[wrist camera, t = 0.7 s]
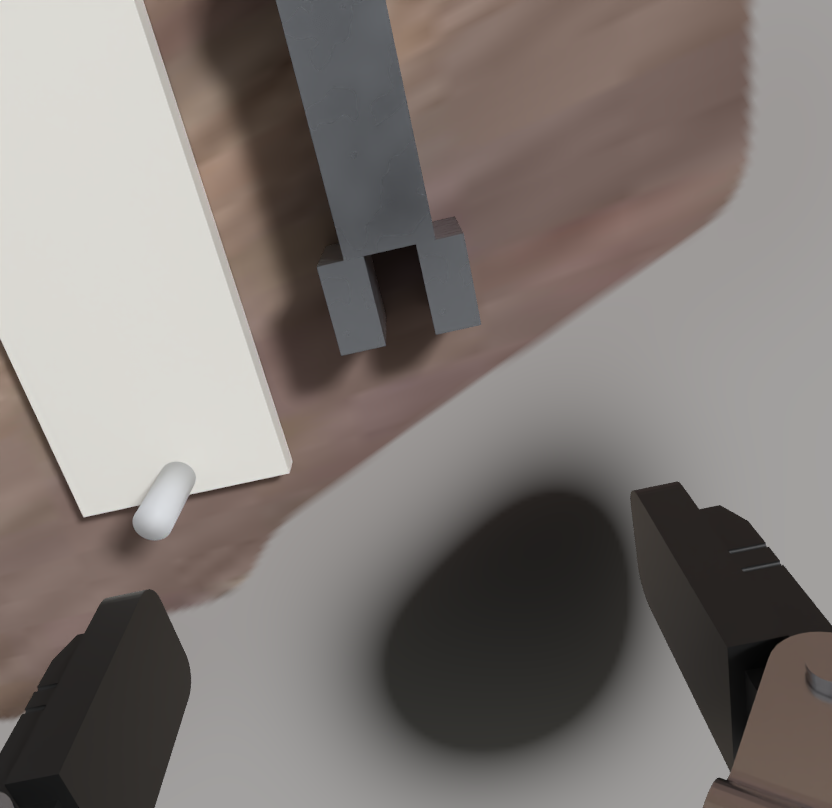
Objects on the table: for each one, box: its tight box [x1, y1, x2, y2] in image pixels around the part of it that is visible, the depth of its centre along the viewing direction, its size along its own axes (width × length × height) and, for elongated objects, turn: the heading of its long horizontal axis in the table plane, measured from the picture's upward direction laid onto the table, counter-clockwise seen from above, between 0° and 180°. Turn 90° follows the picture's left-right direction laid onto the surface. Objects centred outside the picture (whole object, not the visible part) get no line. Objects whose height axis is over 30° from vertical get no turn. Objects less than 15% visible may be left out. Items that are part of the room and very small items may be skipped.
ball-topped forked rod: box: [276, 0, 481, 356], centre depth 27 cm, size 17×6×4 cm, turn 12°
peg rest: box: [0, 0, 293, 540], centre depth 28 cm, size 24×10×5 cm, turn 13°
